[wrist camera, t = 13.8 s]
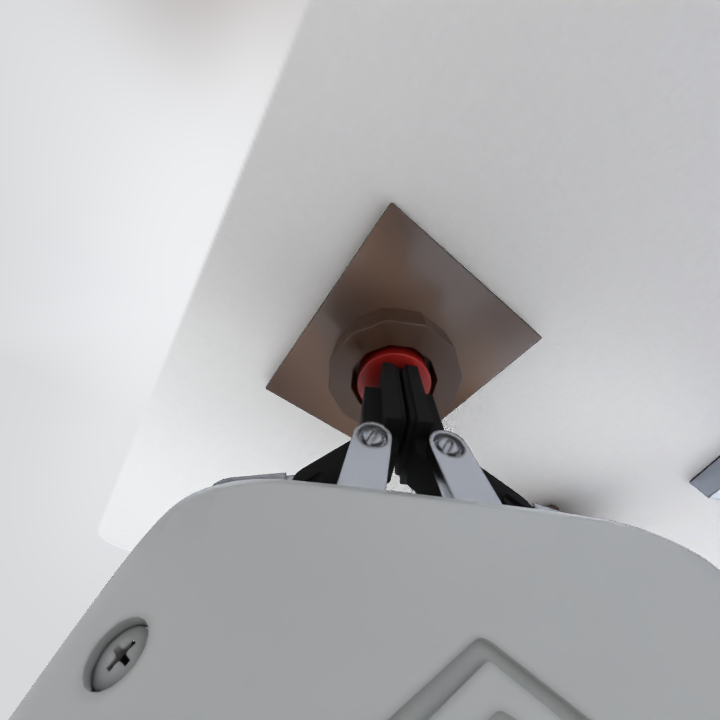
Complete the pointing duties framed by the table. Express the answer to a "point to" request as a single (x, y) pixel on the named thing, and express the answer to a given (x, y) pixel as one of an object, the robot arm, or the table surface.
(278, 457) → the table surface
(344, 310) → the button block
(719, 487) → the bracket
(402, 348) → the button
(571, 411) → the table surface
